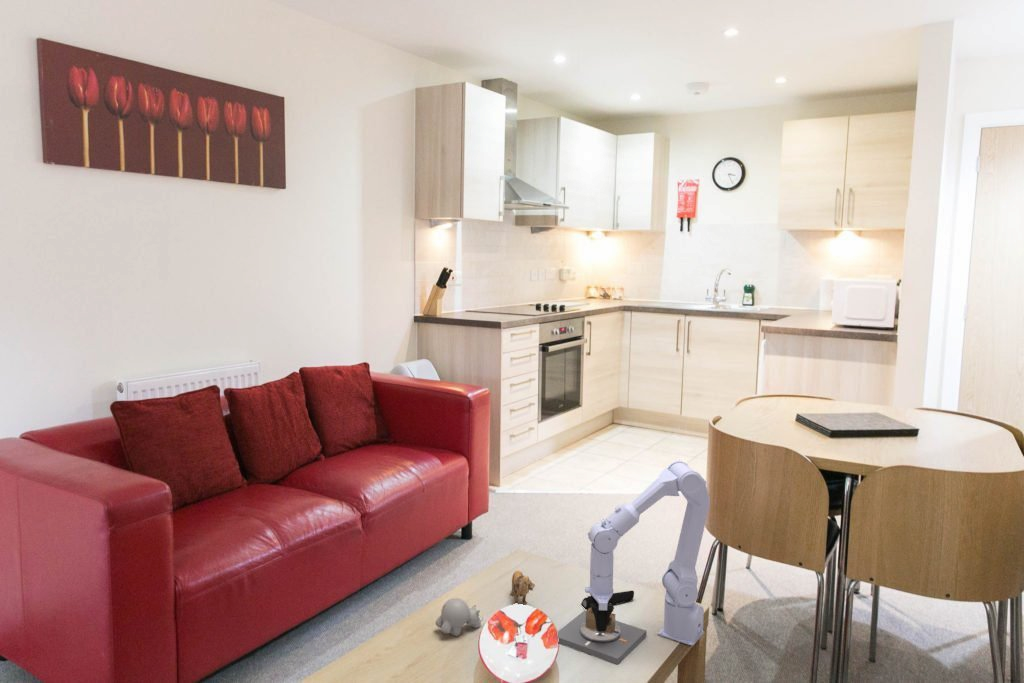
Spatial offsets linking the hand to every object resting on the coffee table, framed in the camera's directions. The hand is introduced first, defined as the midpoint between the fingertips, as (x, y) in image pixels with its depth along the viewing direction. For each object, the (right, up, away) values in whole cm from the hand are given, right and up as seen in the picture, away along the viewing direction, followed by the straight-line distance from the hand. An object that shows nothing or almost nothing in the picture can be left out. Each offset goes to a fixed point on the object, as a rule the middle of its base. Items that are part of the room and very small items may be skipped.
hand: (600, 623), depth 183 cm
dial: (0, -2, 0) cm, 2 cm away
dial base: (0, -4, +1) cm, 4 cm away
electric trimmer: (+4, -2, +19) cm, 20 cm away
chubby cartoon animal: (-35, -4, +4) cm, 36 cm away
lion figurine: (-20, -2, +21) cm, 29 cm away
